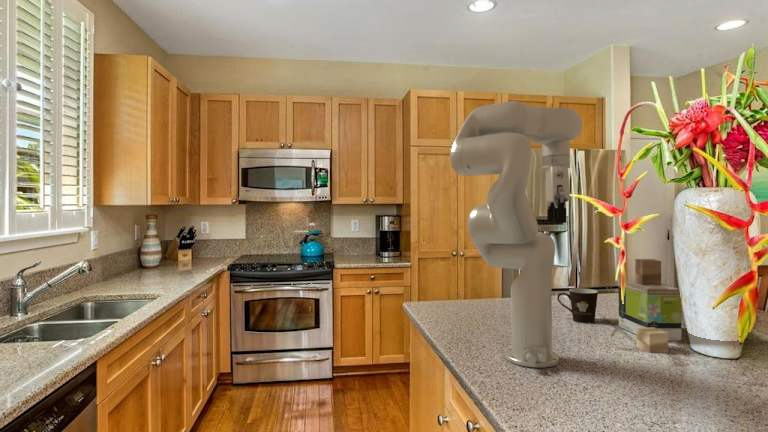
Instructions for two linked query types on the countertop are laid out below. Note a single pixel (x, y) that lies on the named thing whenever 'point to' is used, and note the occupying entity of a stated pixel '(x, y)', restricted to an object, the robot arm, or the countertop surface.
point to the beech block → (652, 339)
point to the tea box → (651, 308)
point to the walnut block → (648, 271)
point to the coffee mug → (582, 304)
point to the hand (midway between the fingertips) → (556, 222)
